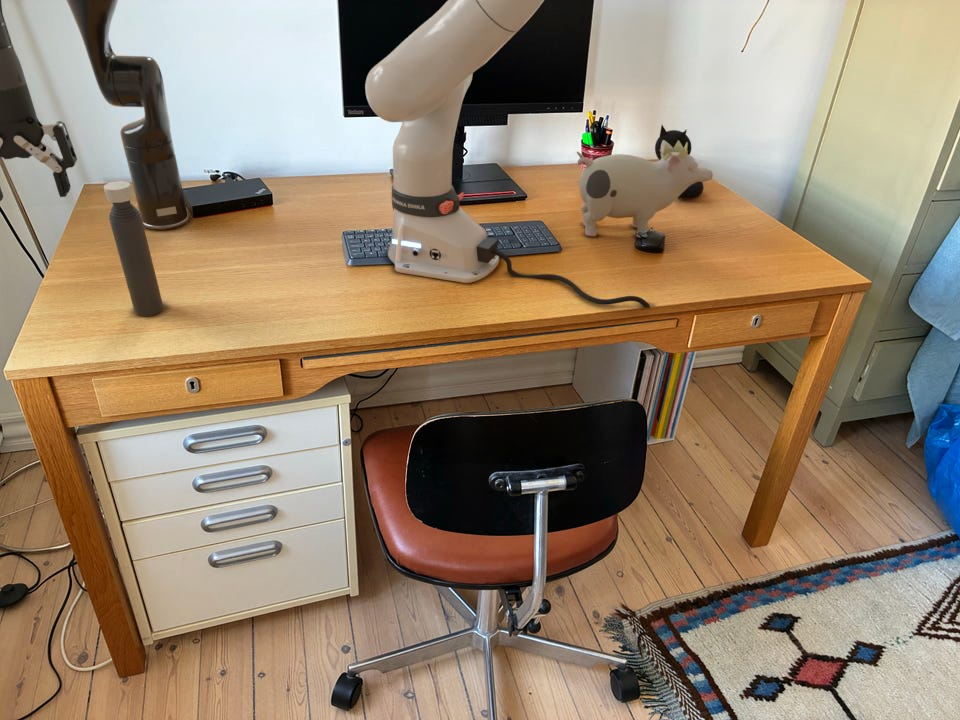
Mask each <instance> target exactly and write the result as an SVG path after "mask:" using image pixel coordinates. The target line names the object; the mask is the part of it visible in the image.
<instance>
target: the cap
mask: <svg viewBox="0 0 960 720" xmlns="http://www.w3.org/2000/svg"><path fill="white" fill-rule="evenodd" d="M103 191H104V194H105V199H106V201H107V202H109V203H112V202H114V203H120V202H126V201H129V200H130V201H131V200H133V198H134V192H133V188H132V186H131V183H130V182H128V181H125V180H117V181H111V182H108V183H105V184H104V185H103Z"/></svg>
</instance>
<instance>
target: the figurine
mask: <svg viewBox="0 0 960 720" xmlns="http://www.w3.org/2000/svg"><path fill="white" fill-rule="evenodd" d="M687 147H688V142H687V143H686V145H685V147H684V148H683V146H682V145H681V143H680V141H679V140H678V141H677V143H676V145H675V146H674V148H672V146H671V145H670V144H669V143H667V142H666V141H664V140H663V141H662V144H661V149H660V152H661V160H659V159H658V161H651V160H648V159H646V158H643V157H641V156H637V155H631V154H624V153H623V154H621V153H616V154H609V155H608V154H607V155H604V156H600V157H597V158H595V159H593V160H592V159H590V158H589V157H585V156H584V154H582V153H581V152H579V151H576V154H577V156H579V158H578V160H577V163H576V164H577V165H578V166H581V165H583V164H584V165H585V167H584V168H583V170H582V172H581V174H580V177H579V182H578V183H579V186H578V187H579V195H580V198H581V200H582V202H583V203H584V204H582V205H581V206H580V210H581V214H582V225H583V226H584V232H585V233H584V234H585V235H586V236H588V237H596V236H597V229H596V228H597V227H596V226H597V222H601V221H603V220H605V218H606V217H608V218H611V219H612V218H613V219H625V218H632V222H631V226H632V227H633V228H636V233H635V237H636V238H640V239H642V238H641V237H640V236H639V235H638V234H637V233H638V232H645V231H648V232H649V230H648V224H649V221H650V220H652V219H653V217H654V216H655V215H656V213H658V212H660V211H662V210H664V209H666V208H668V207H669V206H671V205H672V204H673V203H674V202H675V201H676V200H678V199H679V198H678V197H679V196H680V194H682V193H683V192H684V191H685V190H686V189H687V188H688V187H689V186H690V185H692V184H694V183H696V182H703V183H704V182H708V181H711V180H712V179H713V177H714V175H713V171H712V170H711V169H708V168H702V167H700V168H699V164H698V163H697V161H696V160H695V158H694V157H693V156H692V155H688V154H687V153H688V151H687Z"/></svg>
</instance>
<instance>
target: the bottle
mask: <svg viewBox="0 0 960 720" xmlns="http://www.w3.org/2000/svg"><path fill="white" fill-rule="evenodd" d="M111 203H112V207H111V209H110V211H109V214H108V219H109V220H108V221H109V223H110V228H111V230H112V235H113V238H114V242H115V246H116V248H117V254H118V256H119V261H120V263H121V267H122V271H123V275H124V278H125V282H126V285H127V289H128V293H129V297H130V300H131V303H132V307H133V311H134V314H135V315H137V316H139V317H151V316H156V315H157V314H160V313H161V312H162V311H163V310H164V308H165V307H164V303H163V299H162V295H161V291H160V286H159V283H158V279H157V275H156V271H155V267H154V262H153V258H152V254H151V251H150V247H149V243H148V237H147V234H146V229H145V227H144V226H143V222H142V218H141V214H140V212H139V209H137V208H136V207H135V205H134V204H133V203H131V200H129V201H126V202H120V203H114V202H111Z"/></svg>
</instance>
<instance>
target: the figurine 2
mask: <svg viewBox="0 0 960 720" xmlns="http://www.w3.org/2000/svg"><path fill="white" fill-rule="evenodd" d="M687 131H688V129H687V128H686V129H684V131H680V130H676V129H672V130H666V129H665V126H664V125H663V124H661V127H660V132H659V137H658V138H657V139H656V142H655V144H654V152H655V156H656V158H657V160H658V161H659V160H661V152H660V149H661V144H662V141H663V140H664V141H666V142H667V143H669V144H670V145H671V146H672V148H674V146H675V145H676V143H677V141H678V140H679V141H680V143H681V145H682V146H683V148H684V147H685V145H686V143H687V142H688V147H687V151H688V153H687V154H688V155H689V156H691V152H692V141H691V139H690V138H689V136H688V135H687ZM704 189H705V187H704V182H696V183H694V184H692V185H690V186H689V187H688V188H687V189H686V190H685V191H684V192H683V193H682V194H680V196H679V197H678V198H677V199H688V200H689V199H697V198H699V197H700V196H701V195H702V194H703V192H704Z"/></svg>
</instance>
